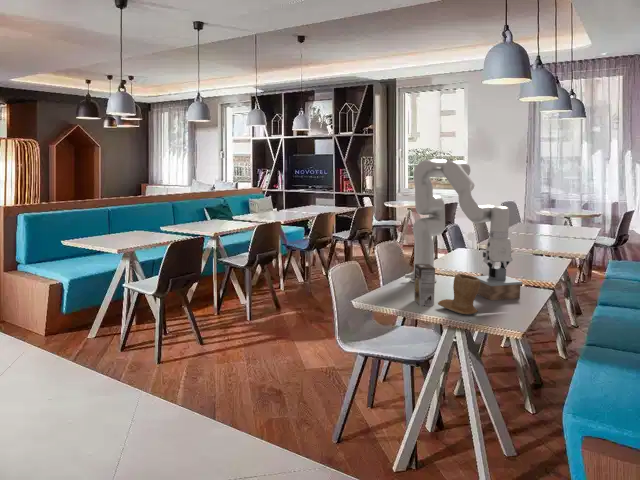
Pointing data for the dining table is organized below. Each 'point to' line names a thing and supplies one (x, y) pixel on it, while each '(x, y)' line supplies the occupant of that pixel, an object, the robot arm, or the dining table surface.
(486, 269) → the jar
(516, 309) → the dining table surface
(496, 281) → the lid
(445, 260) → the dining table surface
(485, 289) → the box
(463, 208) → the robot arm
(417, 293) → the coffee box
